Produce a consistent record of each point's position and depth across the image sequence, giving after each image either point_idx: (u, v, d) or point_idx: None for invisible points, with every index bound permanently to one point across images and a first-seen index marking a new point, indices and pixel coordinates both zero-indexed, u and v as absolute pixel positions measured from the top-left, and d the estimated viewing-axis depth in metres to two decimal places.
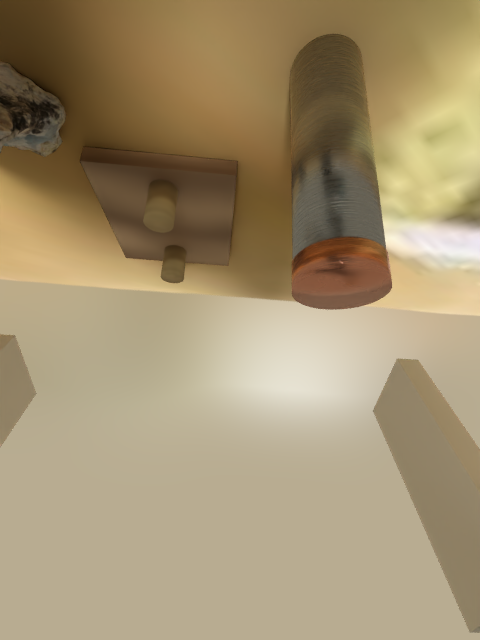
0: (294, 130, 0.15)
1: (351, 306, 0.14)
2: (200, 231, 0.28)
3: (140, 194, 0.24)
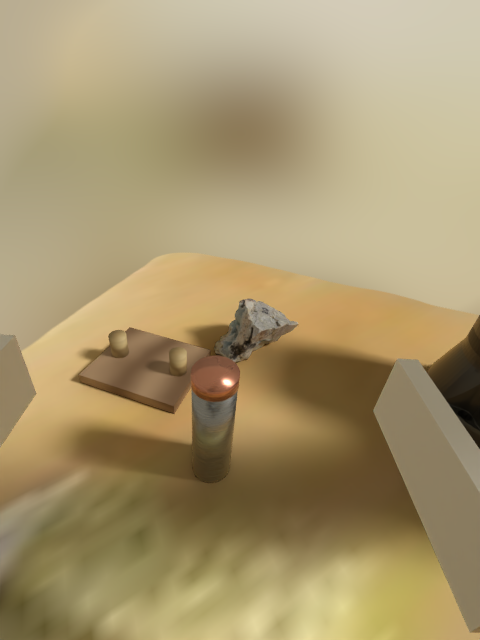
0: None
1: (193, 375, 0.24)
2: (133, 373, 0.38)
3: None
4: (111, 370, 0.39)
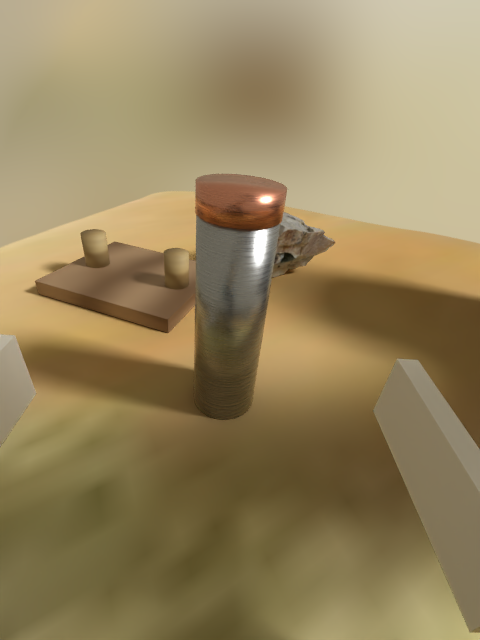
0: None
1: (200, 182, 0.13)
2: (113, 283, 0.27)
3: None
4: (82, 279, 0.27)
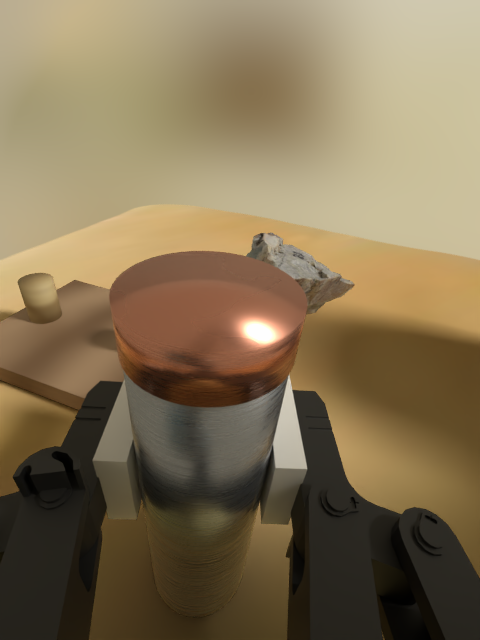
0: None
1: (119, 294, 0.06)
2: (59, 349, 0.20)
3: None
4: (18, 343, 0.20)
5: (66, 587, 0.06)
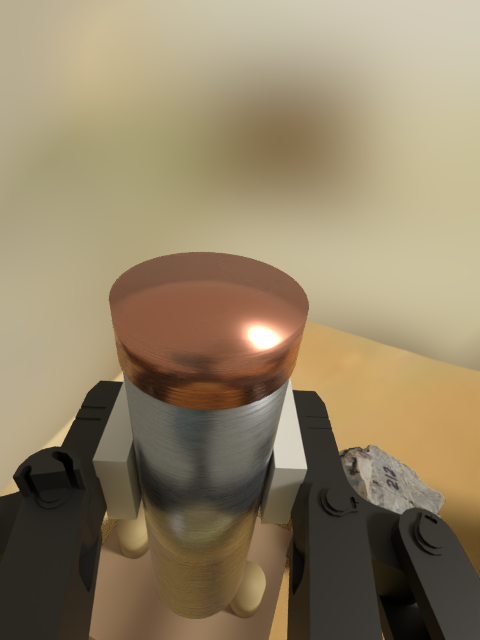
0: None
1: (120, 296, 0.06)
2: (160, 607, 0.20)
3: None
4: (119, 599, 0.20)
5: (66, 587, 0.06)
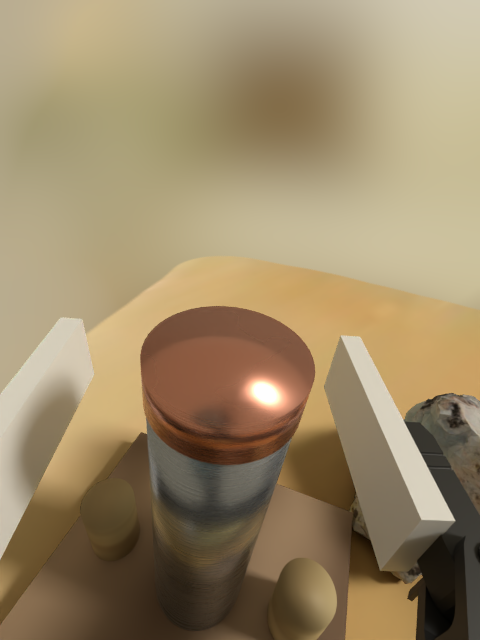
0: None
1: (149, 359, 0.06)
2: None
3: (286, 562, 0.14)
4: (85, 629, 0.12)
5: None
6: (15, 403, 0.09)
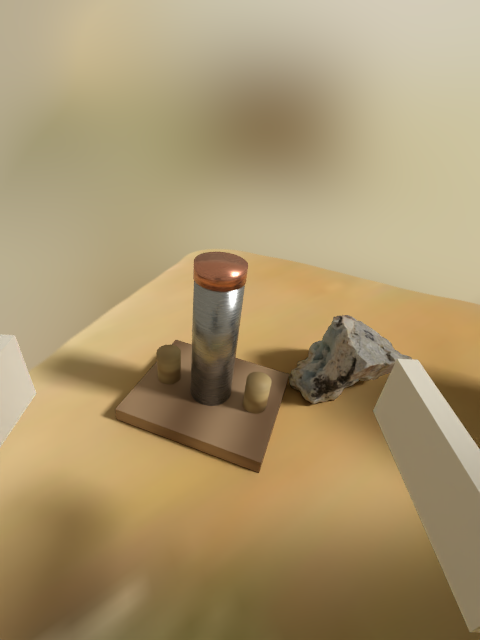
0: None
1: (197, 263, 0.22)
2: (192, 407, 0.27)
3: None
4: (161, 402, 0.27)
5: None
6: None
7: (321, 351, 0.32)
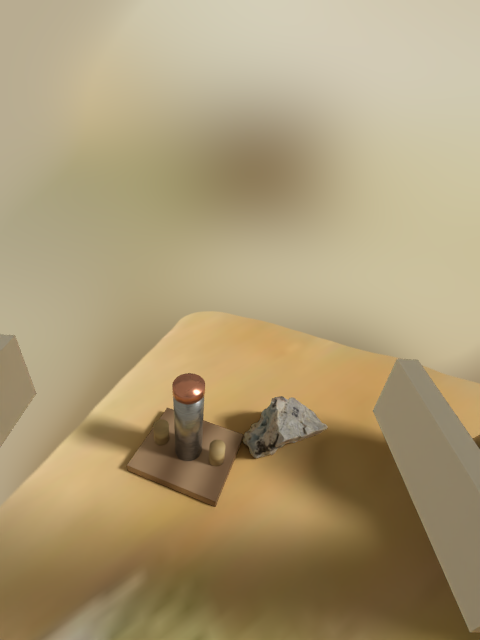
0: None
1: (174, 386, 0.37)
2: (175, 462, 0.42)
3: None
4: (155, 459, 0.42)
5: None
6: None
7: (266, 419, 0.47)
